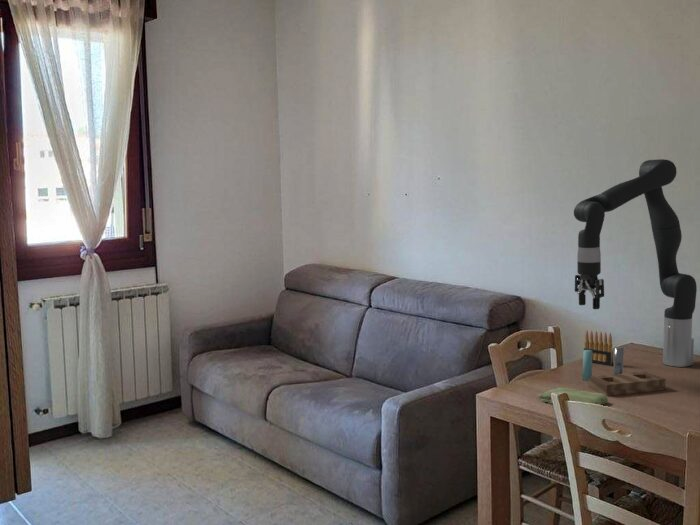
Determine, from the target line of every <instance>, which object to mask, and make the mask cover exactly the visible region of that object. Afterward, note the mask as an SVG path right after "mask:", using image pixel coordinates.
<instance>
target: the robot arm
mask: <svg viewBox="0 0 700 525" xmlns="http://www.w3.org/2000/svg"><path fill="white" fill-rule="evenodd" d="M676 176H677V167H676V164H675V163H674V162H673V161H672V160H669V159H663V158H661V159H648V160H644V161H643V162H642V163H641V164H640V165H639V169H638V176H637V177H635V178H633V179H629V180H625V181H623V182H620V183H618V184H616V185H613V186H612V187H609V188H608V189H606V190H605V191H603V192H601V193H600V194H597V195H593V196H591V197H588V198H586V199H583V200H581V201H580V202H578V203H577V204H576V205H575V207H574V209H573V216H574V218H575V219H576V220H577V221H578V222H581V223H585V226H584V229H581V230H580V231H579V232H578V236H577V238H578V239H577V240H578V242H577V245H578V246H577V255H576V256H577V258H576V259H577V274H575V275H574V292H575V293H577V295H578V305H579V306H585V305H586V301H587V300H586V299H587V298H586V297H587V296H586V293H587V291H588V292H589V293H590V294H591V296H592V309H593V310H599V309H600V307H601V305H600V304H601V302H600V301H601V298H603V297H605V280H604V279H603V278H601V279H600V278H599V279H598V275H600V274H601V270H602V269H601V261H602V260H601V259H602V257H601V255H602V254H601V232H602V229H603V225H604V221H605V216H606V215H605V214H606V213H609V212H612V211H614V210H616V209H617V208H620V207H621V206H623V205H625V204H627V203H628V202H630V201H632V200H635V198H637V197H640V196H642V195H644V198H645V201H646V205H647V210H648V214H649V219H650V226H651V230H652V236H653V241H654V245H655V252H656V258H657V265H658V277H659V285H660V286H659V287H660V290H661V292H662V294H663V295H664V296H665V297H667V298H672V299H673V305H672V306H670V307H666V308H665V309H664V314H663V315H664V316H663V317H664V319H663V348H662V349H663V352H662V364H664V365H666V366H669V367H670V366H671V367H681V368H683V367H684V368H685V367H689V366H691V365H694V350H695V349H694V346H695V344H694V343H695V342H694V341H695V340H694V338H692V334H693V332H692V331H693V314H694V312H695V309H696V303H697V302H696V300H697V292H698V291H697V282H696V279H695V278H694V277H693V276H692V275H690V274H686V273H680V272H679V268H678V265H677V264H678V263H677V254H678V252H679V249H680V246H681V243H682V236H683V235H682V229H681V224H680V219H679V217H678V216H677V213H676V212H675V211H674V209H673V208H672V207H671V205H670V204H669V202H668V200H667V199H666V198H665V195H664V192H663V187H664V186H668V185H670V184H671V183H673V181H675V179H676Z"/></svg>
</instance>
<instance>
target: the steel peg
mask: <svg viewBox="0 0 700 525" xmlns="http://www.w3.org/2000/svg"><path fill="white" fill-rule="evenodd" d="M623 373H624V347H620V346H619V347H618V346H617V347H616V346H615V347H613V374H623Z"/></svg>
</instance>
